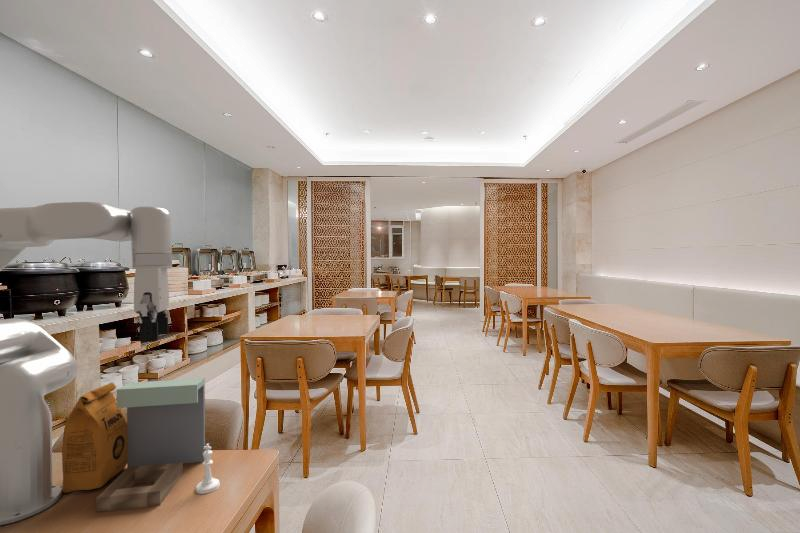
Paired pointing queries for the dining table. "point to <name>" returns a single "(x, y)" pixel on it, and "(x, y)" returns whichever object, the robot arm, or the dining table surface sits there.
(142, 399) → the grey green box
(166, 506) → the dining table surface
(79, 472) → the coffee package
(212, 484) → the chess piece
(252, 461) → the dining table surface
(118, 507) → the socket block
